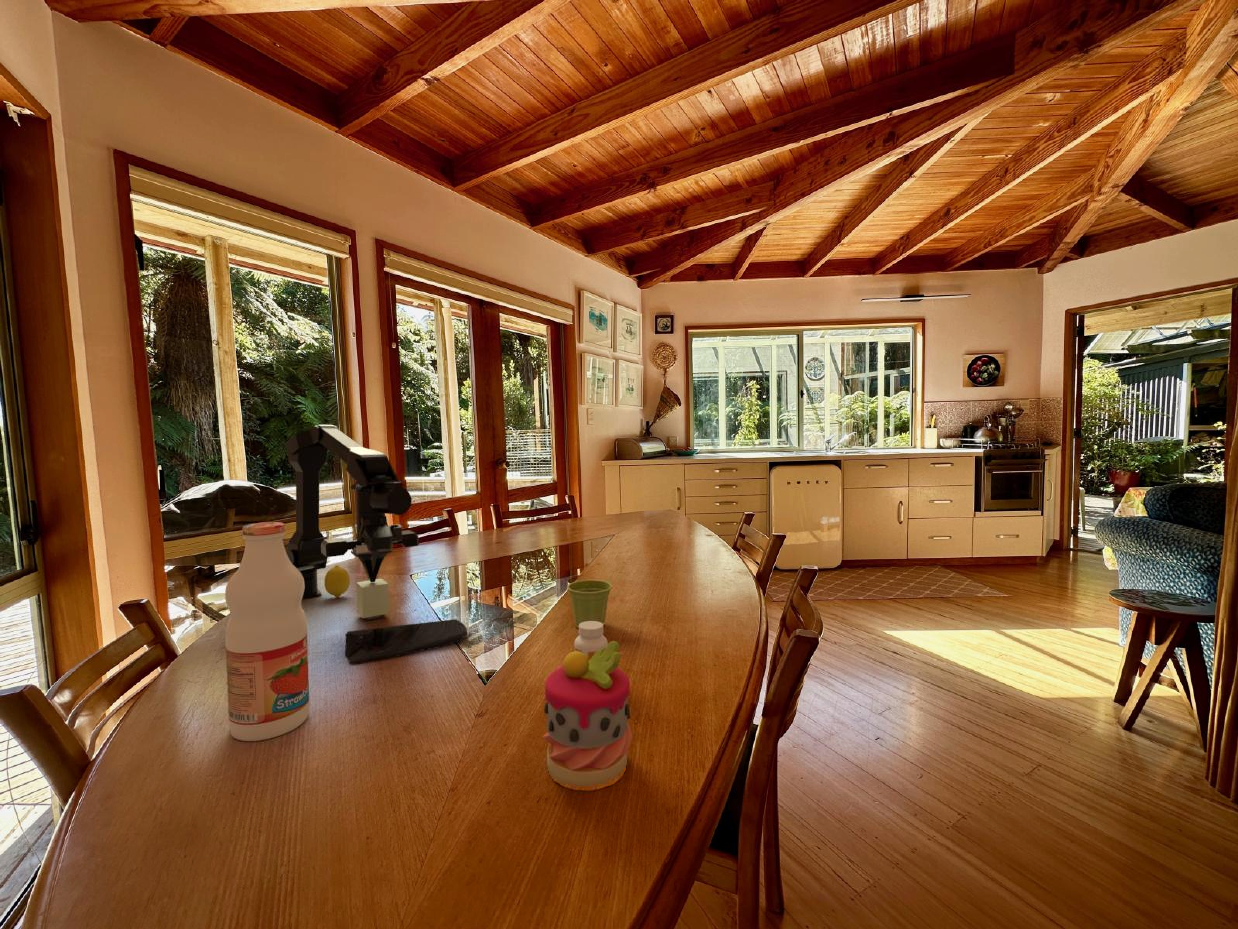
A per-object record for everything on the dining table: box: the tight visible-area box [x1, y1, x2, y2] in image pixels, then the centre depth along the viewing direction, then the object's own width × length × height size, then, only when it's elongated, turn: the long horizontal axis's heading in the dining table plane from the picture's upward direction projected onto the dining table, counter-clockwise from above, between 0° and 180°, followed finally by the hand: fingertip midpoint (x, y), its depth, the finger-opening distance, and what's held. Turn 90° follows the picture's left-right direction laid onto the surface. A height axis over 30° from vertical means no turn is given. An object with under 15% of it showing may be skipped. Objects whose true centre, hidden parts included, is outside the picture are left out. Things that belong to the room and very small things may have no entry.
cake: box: [541, 640, 633, 787], centre depth 65 cm, size 10×10×15 cm
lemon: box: [324, 565, 351, 599], centre depth 131 cm, size 6×6×8 cm
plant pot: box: [567, 579, 613, 626], centre depth 113 cm, size 9×9×9 cm
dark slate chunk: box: [344, 618, 468, 665], centre depth 104 cm, size 15×22×5 cm
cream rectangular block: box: [356, 578, 390, 619], centre depth 117 cm, size 5×5×7 cm
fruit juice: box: [224, 521, 310, 742], centre depth 74 cm, size 9×9×28 cm
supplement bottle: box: [573, 621, 609, 661], centre depth 87 cm, size 5×5×10 cm
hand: (372, 581), depth 117 cm, fingers closed
